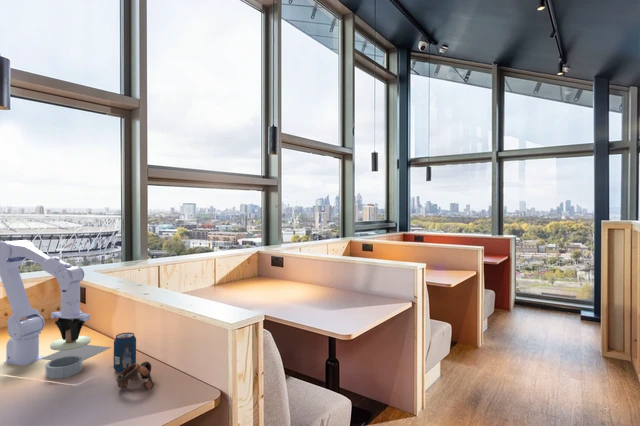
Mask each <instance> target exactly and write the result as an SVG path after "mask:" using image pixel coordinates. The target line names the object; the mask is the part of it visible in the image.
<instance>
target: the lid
mask: <svg viewBox="0 0 640 426" xmlns="http://www.w3.org/2000/svg"><path fill="white" fill-rule="evenodd" d="M91 341H92V340H91V337H90V336H87V335H79V337H78V339H77V340H75V341H72V340H71V330H66V331H65V340H63V339H62V338H59V339H56V340H54V341H52V342H51V343H50V344H49V347H50V349H51V350H53V351H57V352H58V351H62V350H71V349H76V348H80V347H83V346H85V345H90V343H91Z"/></svg>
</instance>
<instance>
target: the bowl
mask: <svg viewBox="0 0 640 426" xmlns="http://www.w3.org/2000/svg"><path fill="white" fill-rule="evenodd" d="M44 368H45V370H44V371H45V377H46V378H47V379H51V380H59V379H65V378H71V377H73V376H75V375H78V374H79V373H81V371H82V370H83V361H82V358H81V357H79V356H66V357H61V358H57V359H54V360H48V362H46V364H45V367H44Z"/></svg>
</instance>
